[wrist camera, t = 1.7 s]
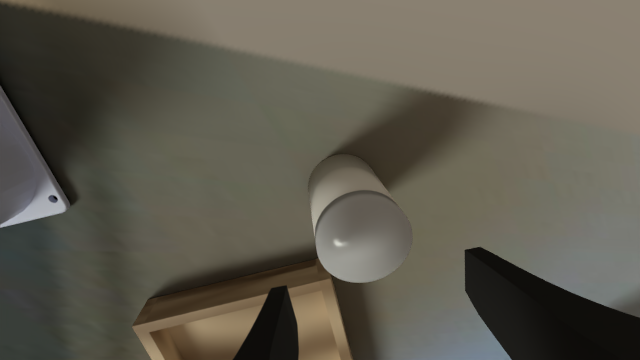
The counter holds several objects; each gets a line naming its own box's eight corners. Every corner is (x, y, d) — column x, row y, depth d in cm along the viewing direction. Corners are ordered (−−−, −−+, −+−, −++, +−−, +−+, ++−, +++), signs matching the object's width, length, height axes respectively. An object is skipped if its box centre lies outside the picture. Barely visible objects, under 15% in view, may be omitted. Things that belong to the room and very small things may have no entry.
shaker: (300, 163, 20) (306, 212, 14) (369, 146, 20) (406, 188, 14) (316, 223, 22) (327, 291, 16) (379, 207, 22) (417, 270, 16)
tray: (147, 299, 23) (132, 326, 21) (326, 256, 23) (330, 278, 21) (211, 413, 28) (204, 445, 26) (357, 378, 28) (364, 406, 26)
